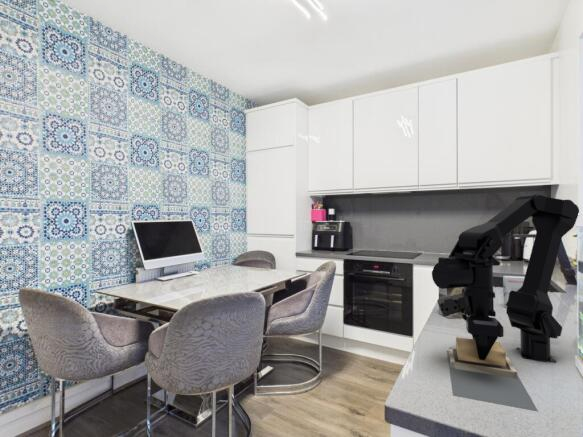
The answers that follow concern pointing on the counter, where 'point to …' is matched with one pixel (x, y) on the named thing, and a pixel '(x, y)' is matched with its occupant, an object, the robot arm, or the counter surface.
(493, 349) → the tile
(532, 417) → the counter surface
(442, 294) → the coffee box
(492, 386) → the mat
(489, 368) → the frame
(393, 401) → the counter surface
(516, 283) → the ink box
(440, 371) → the counter surface
